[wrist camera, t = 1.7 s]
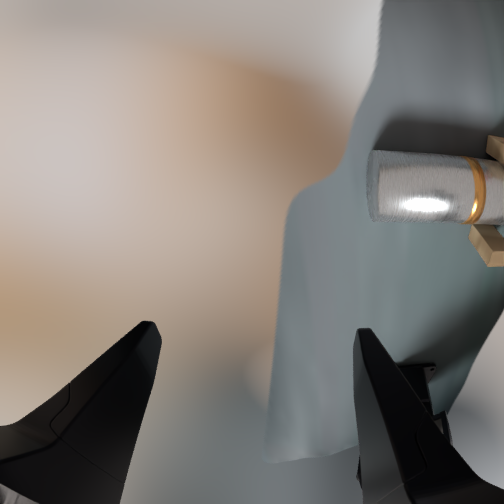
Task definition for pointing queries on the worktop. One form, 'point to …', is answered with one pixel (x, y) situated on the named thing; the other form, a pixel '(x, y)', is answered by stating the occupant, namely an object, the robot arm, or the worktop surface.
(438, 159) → the tube
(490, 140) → the brown piece
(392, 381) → the robot arm
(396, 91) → the worktop surface
